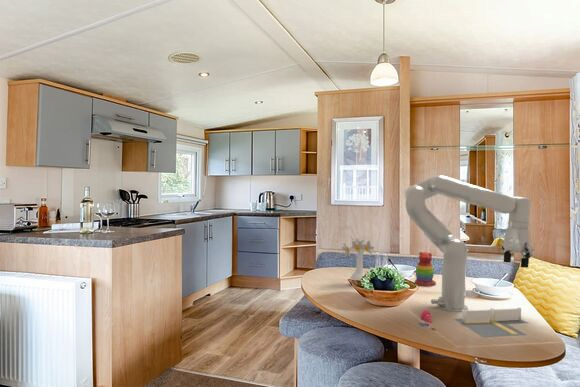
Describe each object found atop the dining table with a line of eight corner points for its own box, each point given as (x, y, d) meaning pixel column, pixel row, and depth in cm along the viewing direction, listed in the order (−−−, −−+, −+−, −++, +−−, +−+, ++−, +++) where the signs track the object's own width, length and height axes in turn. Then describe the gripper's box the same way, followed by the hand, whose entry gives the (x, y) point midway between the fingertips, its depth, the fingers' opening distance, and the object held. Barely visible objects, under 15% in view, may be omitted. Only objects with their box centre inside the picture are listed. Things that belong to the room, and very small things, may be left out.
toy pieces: (409, 322, 153) (409, 311, 153) (429, 318, 158) (430, 307, 158) (433, 333, 142) (433, 321, 142) (453, 328, 147) (454, 317, 147)
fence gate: (495, 321, 153) (496, 309, 153) (493, 319, 154) (493, 308, 154) (521, 320, 154) (522, 308, 154) (519, 318, 156) (519, 307, 156)
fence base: (482, 338, 137) (483, 323, 137) (454, 320, 155) (454, 306, 155) (551, 335, 142) (551, 320, 141) (515, 318, 159) (516, 304, 159)
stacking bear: (436, 283, 212) (437, 252, 212) (432, 287, 204) (433, 254, 203) (416, 280, 218) (417, 249, 217) (412, 284, 210) (413, 252, 209)
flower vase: (337, 284, 205) (338, 238, 204) (362, 280, 216) (363, 236, 215) (354, 290, 194) (356, 242, 194) (379, 285, 205) (380, 239, 204)
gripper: (496, 222, 172) (493, 260, 172) (526, 227, 155) (523, 269, 155) (510, 223, 173) (508, 260, 174) (542, 228, 156) (539, 269, 157)
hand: (515, 264), depth 165 cm, fingers open, 9 cm apart
